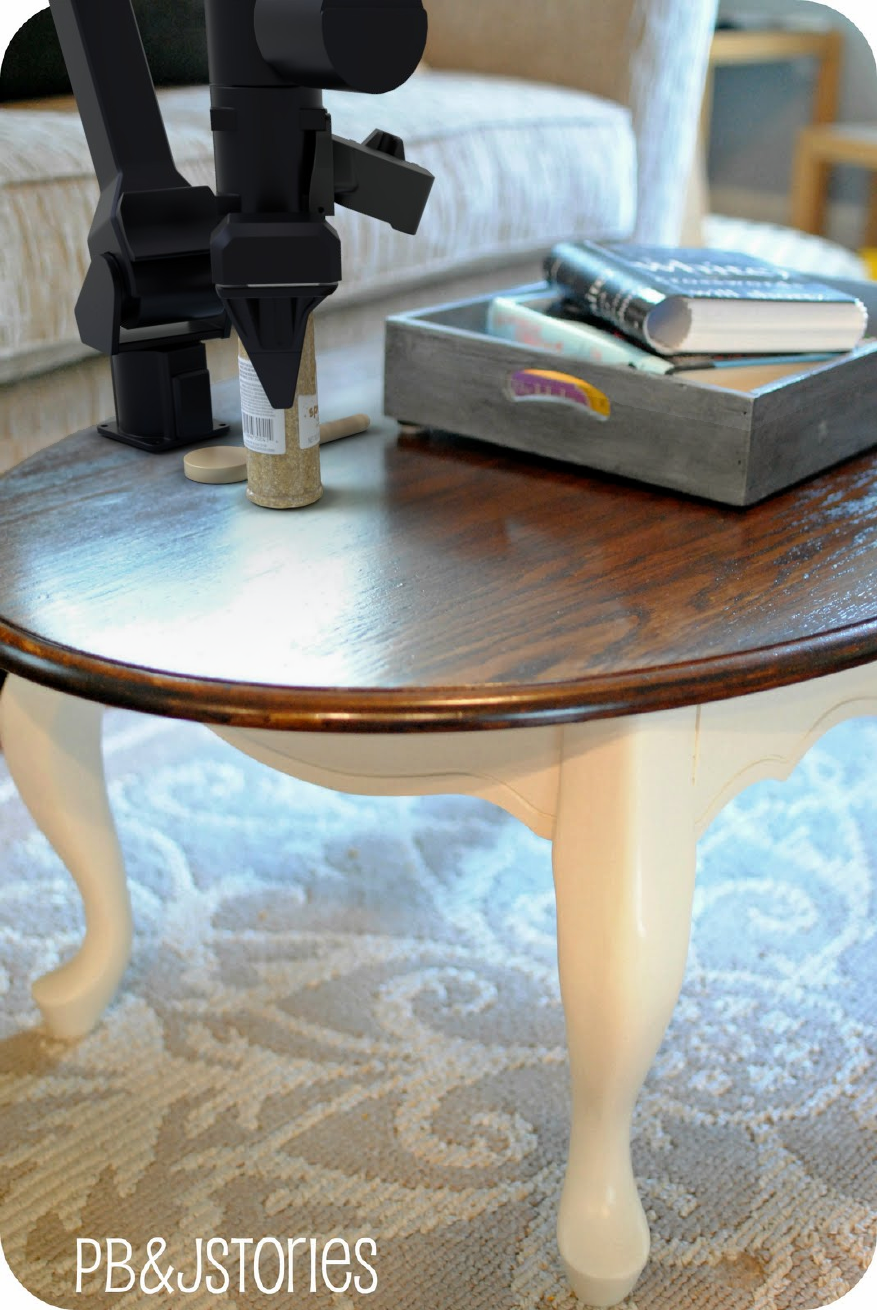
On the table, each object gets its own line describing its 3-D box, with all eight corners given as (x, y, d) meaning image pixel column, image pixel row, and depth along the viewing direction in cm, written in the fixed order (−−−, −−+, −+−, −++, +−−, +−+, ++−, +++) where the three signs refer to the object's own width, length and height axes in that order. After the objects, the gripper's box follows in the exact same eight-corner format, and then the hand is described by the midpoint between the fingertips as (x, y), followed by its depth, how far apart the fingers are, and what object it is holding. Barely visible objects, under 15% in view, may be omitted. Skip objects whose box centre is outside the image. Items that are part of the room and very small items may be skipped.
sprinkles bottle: (337, 501, 79) (330, 262, 73) (267, 516, 76) (253, 271, 71) (300, 480, 82) (290, 250, 76) (231, 493, 80) (215, 258, 74)
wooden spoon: (215, 489, 81) (214, 469, 80) (170, 472, 83) (168, 453, 83) (391, 435, 91) (390, 418, 90) (345, 422, 93) (344, 405, 93)
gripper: (446, 95, 62) (445, 428, 69) (403, 73, 79) (405, 344, 86) (199, 97, 61) (222, 436, 68) (208, 74, 77) (226, 348, 84)
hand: (280, 386), depth 76 cm, fingers open, 9 cm apart
